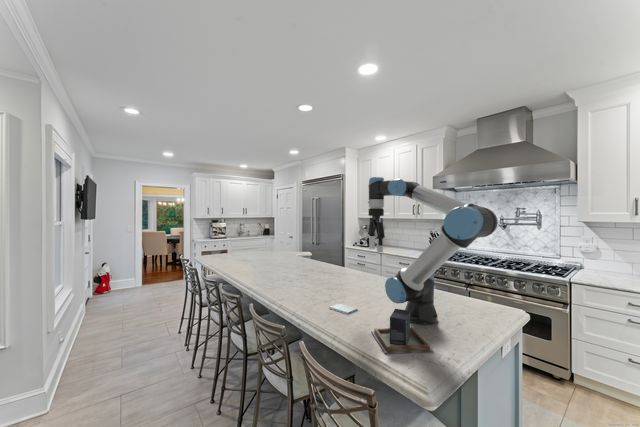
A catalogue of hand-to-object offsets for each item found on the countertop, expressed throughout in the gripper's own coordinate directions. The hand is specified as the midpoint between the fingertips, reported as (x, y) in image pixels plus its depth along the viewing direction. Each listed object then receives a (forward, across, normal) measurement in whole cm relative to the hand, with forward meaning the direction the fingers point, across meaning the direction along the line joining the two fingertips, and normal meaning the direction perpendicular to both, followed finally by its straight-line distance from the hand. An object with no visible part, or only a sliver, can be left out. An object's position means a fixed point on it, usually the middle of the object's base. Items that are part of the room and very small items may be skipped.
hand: (375, 250), depth 140 cm
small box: (+31, +31, +1) cm, 44 cm away
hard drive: (+32, -7, -15) cm, 36 cm away
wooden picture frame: (+32, +31, +1) cm, 44 cm away
